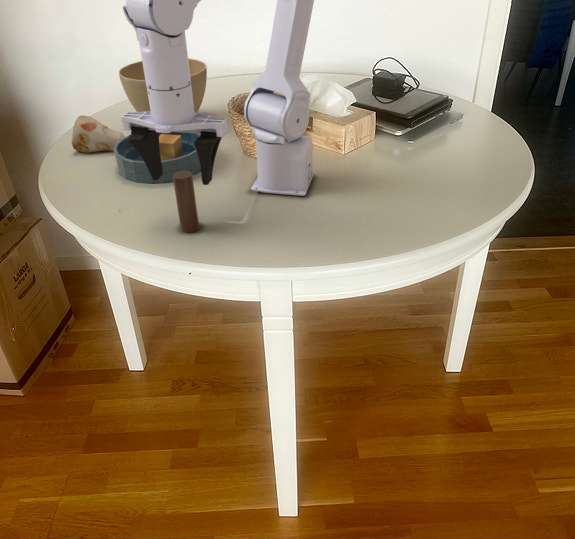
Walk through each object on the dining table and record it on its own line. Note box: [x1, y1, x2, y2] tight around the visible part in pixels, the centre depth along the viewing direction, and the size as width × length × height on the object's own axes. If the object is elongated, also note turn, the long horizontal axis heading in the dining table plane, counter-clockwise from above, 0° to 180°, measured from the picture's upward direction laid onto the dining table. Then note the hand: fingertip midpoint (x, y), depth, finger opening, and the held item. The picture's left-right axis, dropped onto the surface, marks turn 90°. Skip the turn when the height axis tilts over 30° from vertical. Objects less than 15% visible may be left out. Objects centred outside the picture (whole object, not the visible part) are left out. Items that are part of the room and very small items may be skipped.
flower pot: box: [118, 57, 208, 113], centre depth 114 cm, size 18×18×12 cm
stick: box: [172, 171, 200, 234], centre depth 78 cm, size 3×3×9 cm
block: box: [159, 134, 184, 161], centre depth 100 cm, size 4×4×4 cm
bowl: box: [112, 132, 201, 184], centre depth 98 cm, size 16×16×4 cm
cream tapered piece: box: [71, 115, 126, 154], centre depth 104 cm, size 8×10×10 cm
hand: (182, 179), depth 76 cm, fingers open, 7 cm apart
